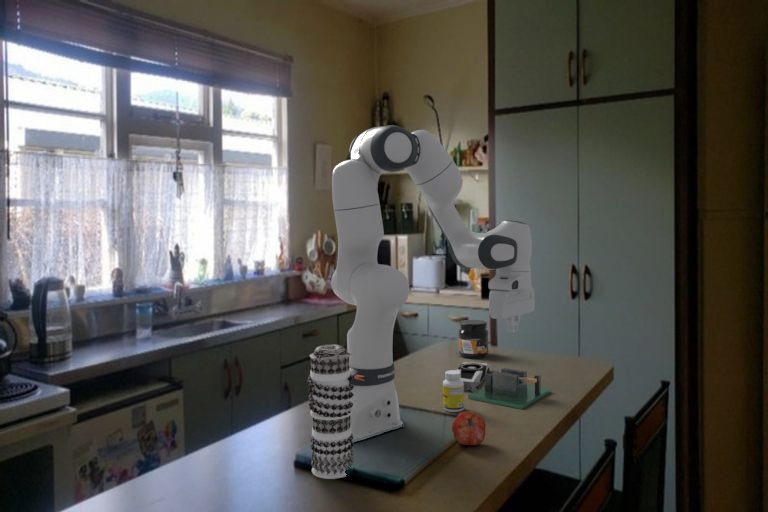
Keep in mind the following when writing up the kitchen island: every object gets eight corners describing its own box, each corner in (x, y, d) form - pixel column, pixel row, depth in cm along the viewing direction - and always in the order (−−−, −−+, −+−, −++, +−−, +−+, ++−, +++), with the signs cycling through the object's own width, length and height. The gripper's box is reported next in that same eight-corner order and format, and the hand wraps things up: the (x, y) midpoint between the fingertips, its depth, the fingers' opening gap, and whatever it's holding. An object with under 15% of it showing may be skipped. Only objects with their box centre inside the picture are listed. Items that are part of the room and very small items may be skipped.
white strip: (533, 384, 166) (532, 379, 166) (487, 380, 174) (487, 375, 174) (537, 382, 168) (537, 377, 168) (492, 377, 176) (492, 372, 176)
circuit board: (522, 409, 160) (522, 384, 159) (468, 398, 170) (468, 375, 169) (550, 392, 174) (550, 369, 173) (499, 383, 184) (499, 361, 183)
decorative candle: (330, 457, 131) (327, 340, 129) (364, 467, 126) (362, 345, 124) (300, 472, 124) (296, 348, 122) (335, 483, 118) (332, 354, 116)
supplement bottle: (442, 406, 164) (442, 369, 163) (463, 405, 163) (462, 369, 163) (443, 412, 158) (443, 374, 157) (465, 412, 158) (464, 374, 157)
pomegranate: (450, 448, 140) (447, 434, 132) (456, 417, 144) (453, 402, 136) (483, 454, 138) (482, 441, 130) (488, 423, 142) (487, 408, 134)
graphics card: (443, 380, 178) (462, 359, 201) (443, 391, 178) (462, 370, 201) (478, 383, 174) (493, 361, 198) (478, 394, 175) (493, 372, 198)
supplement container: (464, 360, 212) (463, 325, 211) (454, 353, 223) (454, 320, 222) (493, 358, 214) (493, 323, 214) (482, 351, 225) (482, 318, 224)
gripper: (520, 277, 177) (519, 325, 178) (485, 282, 161) (483, 335, 162) (541, 279, 173) (539, 328, 174) (507, 284, 157) (505, 338, 158)
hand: (512, 332), depth 168 cm, fingers closed
